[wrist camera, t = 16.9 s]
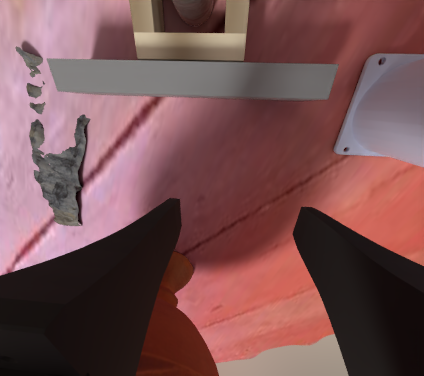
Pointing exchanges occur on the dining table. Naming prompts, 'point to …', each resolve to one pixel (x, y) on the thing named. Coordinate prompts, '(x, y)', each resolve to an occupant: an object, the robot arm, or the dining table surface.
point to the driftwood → (56, 158)
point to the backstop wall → (195, 79)
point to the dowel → (194, 10)
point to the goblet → (174, 331)
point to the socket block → (188, 35)
